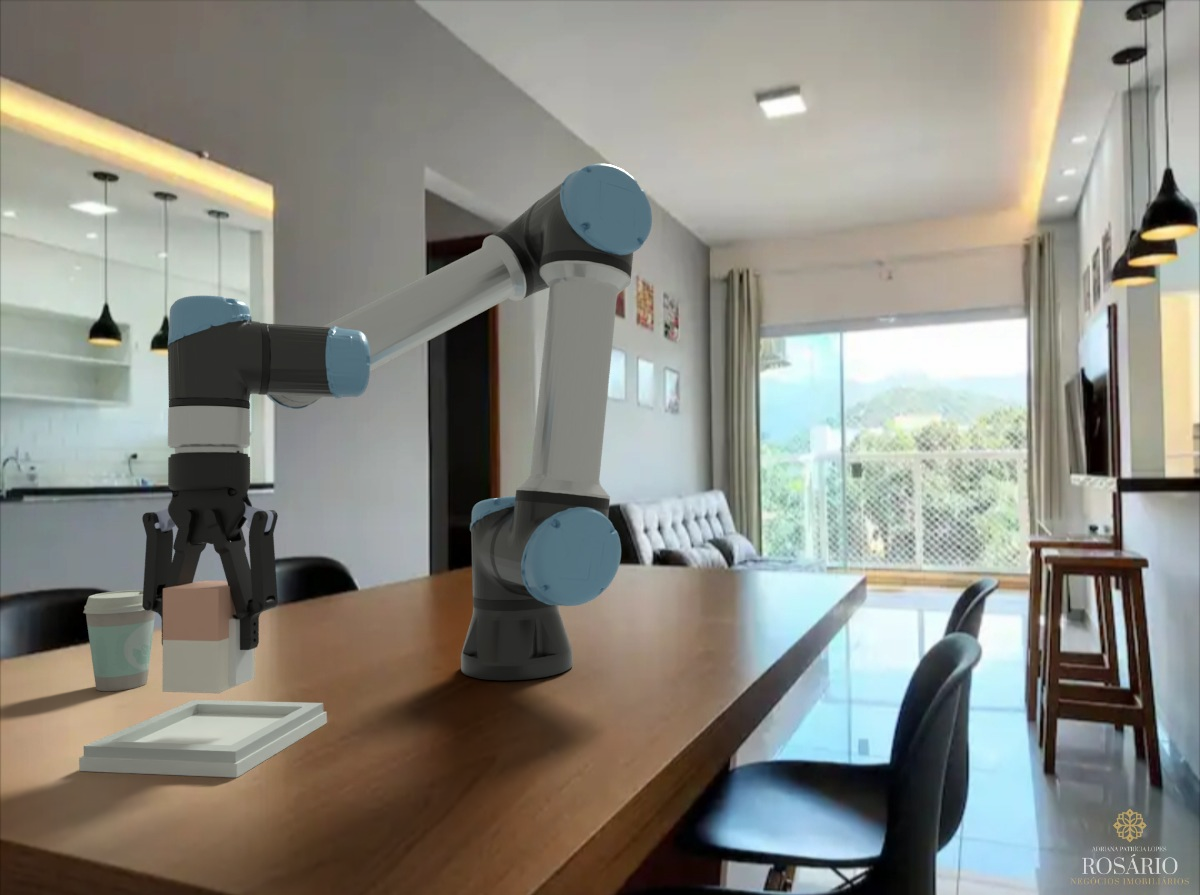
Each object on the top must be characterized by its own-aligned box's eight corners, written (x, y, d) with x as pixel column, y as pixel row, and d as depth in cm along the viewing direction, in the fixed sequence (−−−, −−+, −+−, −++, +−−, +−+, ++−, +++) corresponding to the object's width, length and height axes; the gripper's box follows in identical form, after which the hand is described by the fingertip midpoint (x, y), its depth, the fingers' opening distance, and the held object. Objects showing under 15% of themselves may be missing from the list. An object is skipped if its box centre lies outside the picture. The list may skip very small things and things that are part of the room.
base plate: (326, 722, 88) (326, 702, 89) (236, 777, 73) (236, 752, 73) (193, 719, 91) (193, 699, 91) (79, 771, 75) (79, 746, 76)
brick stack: (254, 678, 85) (254, 581, 85) (218, 693, 79) (218, 588, 79) (202, 676, 86) (202, 580, 86) (162, 691, 80) (162, 588, 80)
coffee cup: (125, 695, 102) (124, 599, 103) (67, 693, 104) (66, 598, 104) (173, 678, 111) (173, 589, 111) (119, 676, 112) (118, 589, 113)
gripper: (315, 450, 85) (317, 674, 84) (152, 454, 88) (152, 670, 87) (275, 447, 78) (276, 694, 77) (98, 452, 81) (97, 688, 80)
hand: (210, 681), depth 82 cm, fingers closed on brick stack, 6 cm apart
